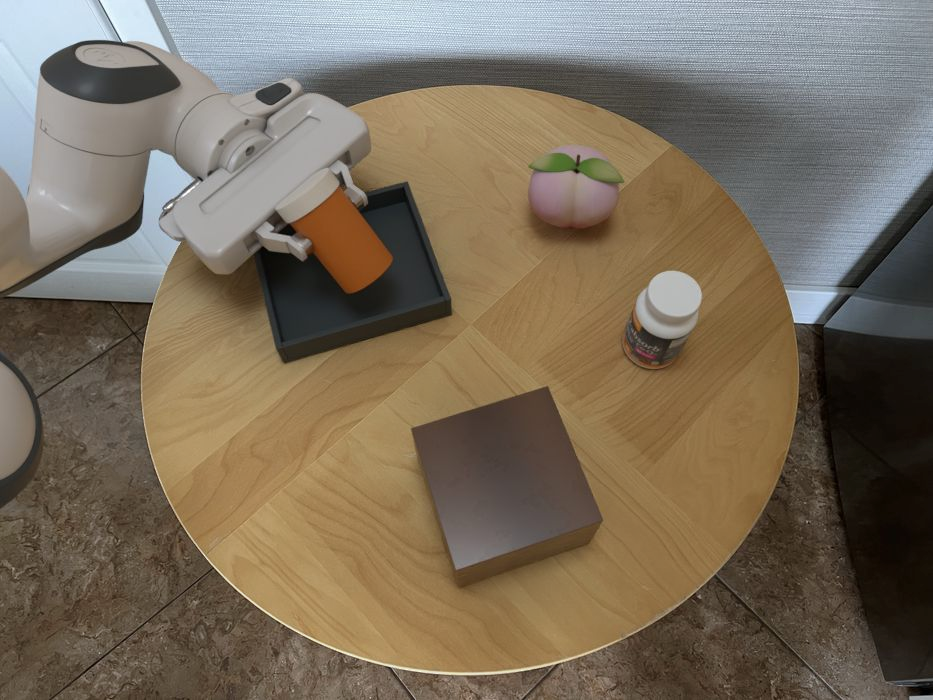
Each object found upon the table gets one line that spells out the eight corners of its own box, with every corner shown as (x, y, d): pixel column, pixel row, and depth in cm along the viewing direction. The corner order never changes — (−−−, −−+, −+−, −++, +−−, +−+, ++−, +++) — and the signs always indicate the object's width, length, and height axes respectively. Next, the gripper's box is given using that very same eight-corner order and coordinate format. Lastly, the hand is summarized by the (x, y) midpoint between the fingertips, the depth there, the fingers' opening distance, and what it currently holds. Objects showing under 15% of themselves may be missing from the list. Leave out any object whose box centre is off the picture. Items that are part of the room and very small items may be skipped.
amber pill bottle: (342, 303, 69) (271, 216, 65) (344, 280, 74) (278, 198, 70) (396, 267, 68) (327, 176, 64) (393, 246, 73) (330, 161, 69)
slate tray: (283, 363, 73) (276, 349, 71) (253, 240, 80) (245, 223, 77) (452, 314, 76) (451, 299, 73) (409, 199, 82) (407, 180, 79)
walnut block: (457, 588, 64) (455, 570, 57) (417, 459, 69) (410, 428, 62) (589, 543, 65) (603, 520, 58) (540, 420, 70) (547, 385, 63)
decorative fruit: (610, 188, 83) (626, 122, 74) (612, 250, 79) (629, 189, 70) (524, 184, 83) (530, 118, 74) (522, 245, 79) (528, 184, 70)
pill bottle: (609, 343, 74) (627, 290, 65) (648, 309, 76) (671, 253, 67) (652, 382, 72) (677, 334, 63) (692, 346, 74) (721, 294, 65)
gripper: (134, 197, 66) (240, 284, 62) (302, 66, 73) (408, 138, 69) (161, 238, 72) (260, 321, 68) (314, 114, 79) (413, 182, 75)
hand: (336, 227), depth 68 cm, fingers closed on amber pill bottle, 5 cm apart
